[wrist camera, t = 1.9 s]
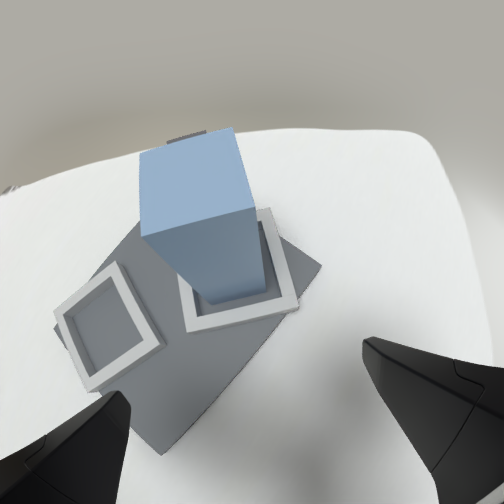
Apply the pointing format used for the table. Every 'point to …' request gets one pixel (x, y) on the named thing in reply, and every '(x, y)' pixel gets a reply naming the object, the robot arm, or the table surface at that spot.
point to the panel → (173, 331)
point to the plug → (202, 215)
